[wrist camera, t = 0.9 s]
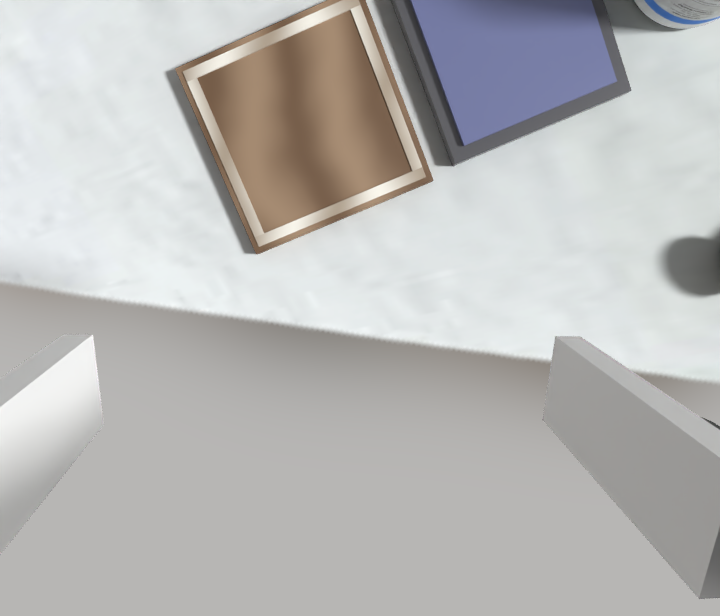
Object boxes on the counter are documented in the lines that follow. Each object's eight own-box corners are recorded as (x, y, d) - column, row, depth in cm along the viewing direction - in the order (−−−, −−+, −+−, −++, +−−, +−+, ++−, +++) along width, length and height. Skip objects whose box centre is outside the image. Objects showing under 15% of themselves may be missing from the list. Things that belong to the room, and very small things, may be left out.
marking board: (360, -8, 37) (359, -15, 36) (431, 181, 39) (433, 180, 38) (179, 72, 38) (174, 68, 37) (259, 253, 40) (255, 254, 39)
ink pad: (564, -91, 36) (573, -106, 35) (623, 94, 38) (634, 88, 37) (386, -12, 37) (387, -23, 36) (452, 166, 39) (456, 163, 38)
